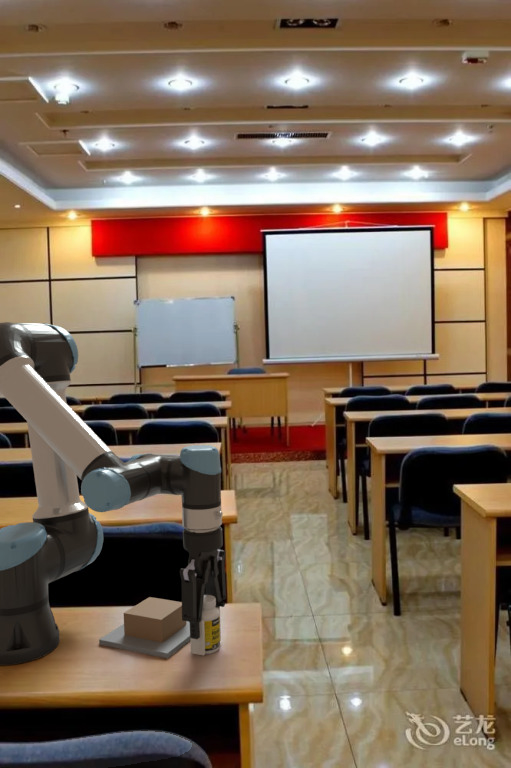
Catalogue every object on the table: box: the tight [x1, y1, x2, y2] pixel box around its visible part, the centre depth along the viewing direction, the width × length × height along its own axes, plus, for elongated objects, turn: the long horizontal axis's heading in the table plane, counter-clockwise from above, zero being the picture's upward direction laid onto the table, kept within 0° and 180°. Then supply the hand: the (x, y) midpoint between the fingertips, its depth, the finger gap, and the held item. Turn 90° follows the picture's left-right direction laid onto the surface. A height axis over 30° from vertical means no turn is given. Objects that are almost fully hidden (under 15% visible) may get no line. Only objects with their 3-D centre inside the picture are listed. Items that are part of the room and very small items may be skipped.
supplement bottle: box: [202, 594, 221, 655], centre depth 122 cm, size 5×5×10 cm
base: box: [98, 596, 190, 660], centre depth 130 cm, size 16×16×6 cm
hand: (206, 646), depth 122 cm, fingers closed on supplement bottle, 5 cm apart
